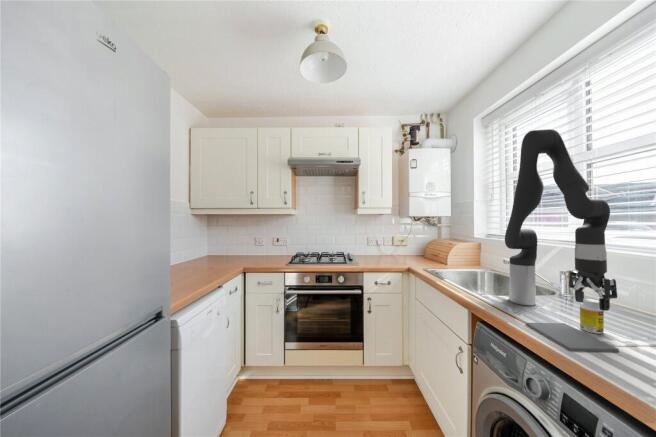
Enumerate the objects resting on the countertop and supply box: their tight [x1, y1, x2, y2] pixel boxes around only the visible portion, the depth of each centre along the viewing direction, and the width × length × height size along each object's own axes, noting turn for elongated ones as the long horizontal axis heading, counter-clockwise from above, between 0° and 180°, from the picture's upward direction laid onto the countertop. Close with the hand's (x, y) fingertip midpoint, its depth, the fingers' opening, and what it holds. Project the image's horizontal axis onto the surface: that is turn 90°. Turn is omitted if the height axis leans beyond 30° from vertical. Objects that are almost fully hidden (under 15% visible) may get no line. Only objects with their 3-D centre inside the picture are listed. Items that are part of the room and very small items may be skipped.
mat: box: [525, 322, 620, 353], centre depth 82 cm, size 18×13×1 cm
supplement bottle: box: [579, 298, 605, 335], centre depth 86 cm, size 6×6×10 cm
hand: (591, 305), depth 86 cm, fingers open, 8 cm apart
